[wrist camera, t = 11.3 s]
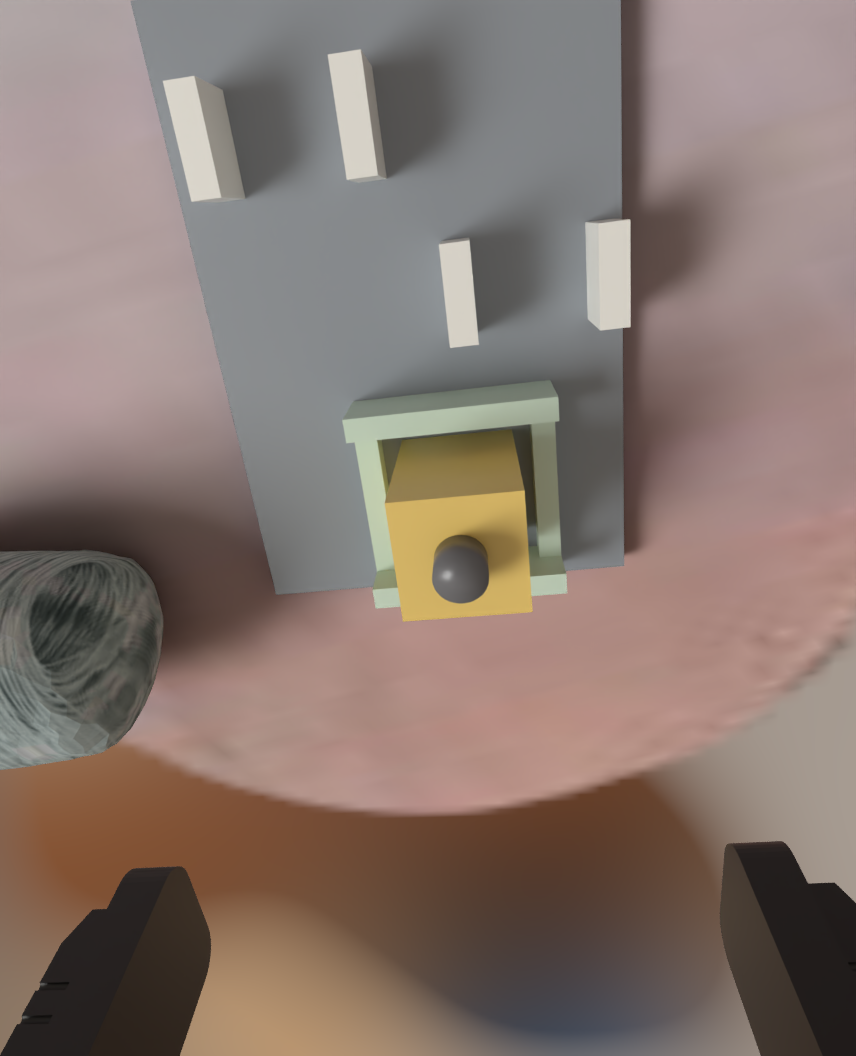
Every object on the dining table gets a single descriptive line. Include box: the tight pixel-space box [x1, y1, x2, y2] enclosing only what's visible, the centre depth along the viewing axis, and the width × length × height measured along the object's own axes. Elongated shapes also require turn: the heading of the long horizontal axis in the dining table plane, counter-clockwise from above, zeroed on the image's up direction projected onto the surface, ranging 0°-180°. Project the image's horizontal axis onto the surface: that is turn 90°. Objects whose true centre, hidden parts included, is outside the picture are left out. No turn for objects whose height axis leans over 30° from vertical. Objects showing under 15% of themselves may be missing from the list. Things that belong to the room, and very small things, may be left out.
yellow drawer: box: [385, 429, 532, 622], centre depth 23 cm, size 4×4×7 cm
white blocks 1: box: [163, 49, 387, 203], centre depth 20 cm, size 3×6×2 cm, turn 97°
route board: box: [131, 0, 624, 595], centre depth 24 cm, size 20×14×1 cm
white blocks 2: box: [439, 218, 631, 348], centre depth 22 cm, size 3×6×2 cm, turn 98°
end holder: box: [342, 380, 567, 608], centre depth 25 cm, size 7×7×2 cm
